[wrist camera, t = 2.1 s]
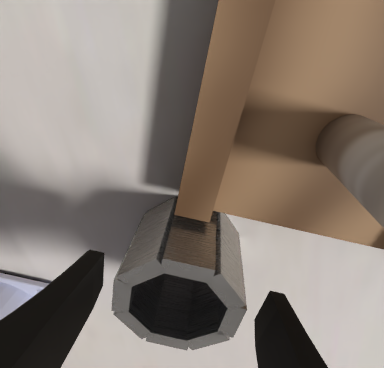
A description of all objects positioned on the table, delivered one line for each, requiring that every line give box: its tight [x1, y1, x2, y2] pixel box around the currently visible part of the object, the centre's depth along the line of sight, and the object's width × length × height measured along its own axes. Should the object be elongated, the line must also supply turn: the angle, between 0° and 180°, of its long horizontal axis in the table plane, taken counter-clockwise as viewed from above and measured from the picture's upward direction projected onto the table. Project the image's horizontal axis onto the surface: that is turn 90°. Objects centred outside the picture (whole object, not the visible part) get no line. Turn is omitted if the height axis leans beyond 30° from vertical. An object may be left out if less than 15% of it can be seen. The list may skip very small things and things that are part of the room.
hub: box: [112, 197, 247, 350], centre depth 12 cm, size 6×6×4 cm
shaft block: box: [174, 0, 384, 249], centre depth 8 cm, size 12×9×6 cm
